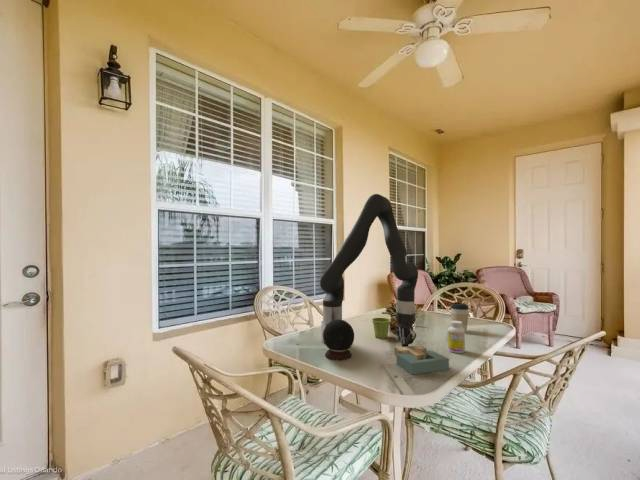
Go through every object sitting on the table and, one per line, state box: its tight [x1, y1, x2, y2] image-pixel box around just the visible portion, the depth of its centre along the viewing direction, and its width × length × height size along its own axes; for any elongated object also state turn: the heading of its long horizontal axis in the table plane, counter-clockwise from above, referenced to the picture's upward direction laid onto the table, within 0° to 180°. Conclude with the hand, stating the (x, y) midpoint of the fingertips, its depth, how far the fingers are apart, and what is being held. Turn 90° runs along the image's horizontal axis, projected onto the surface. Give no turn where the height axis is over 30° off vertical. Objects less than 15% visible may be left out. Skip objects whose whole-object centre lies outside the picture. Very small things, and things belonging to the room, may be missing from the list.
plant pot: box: [371, 317, 392, 340], centre depth 161 cm, size 9×9×9 cm
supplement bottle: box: [447, 320, 466, 354], centre depth 139 cm, size 7×7×13 cm
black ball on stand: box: [323, 319, 355, 362], centre depth 134 cm, size 13×13×15 cm
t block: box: [393, 344, 427, 363], centre depth 125 cm, size 12×10×5 cm
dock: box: [396, 349, 450, 376], centre depth 121 cm, size 16×10×4 cm, turn 107°
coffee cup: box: [450, 301, 469, 333], centre depth 171 cm, size 9×9×15 cm
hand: (404, 352), depth 133 cm, fingers closed
